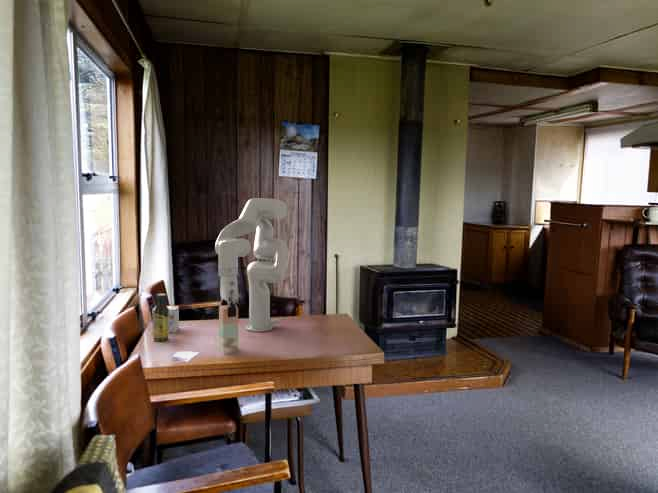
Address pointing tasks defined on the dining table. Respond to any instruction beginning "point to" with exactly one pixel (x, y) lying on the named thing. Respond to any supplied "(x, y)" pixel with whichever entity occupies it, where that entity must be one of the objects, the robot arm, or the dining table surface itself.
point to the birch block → (228, 345)
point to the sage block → (228, 330)
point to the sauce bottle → (161, 319)
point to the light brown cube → (224, 315)
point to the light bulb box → (170, 318)
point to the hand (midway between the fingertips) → (228, 313)
